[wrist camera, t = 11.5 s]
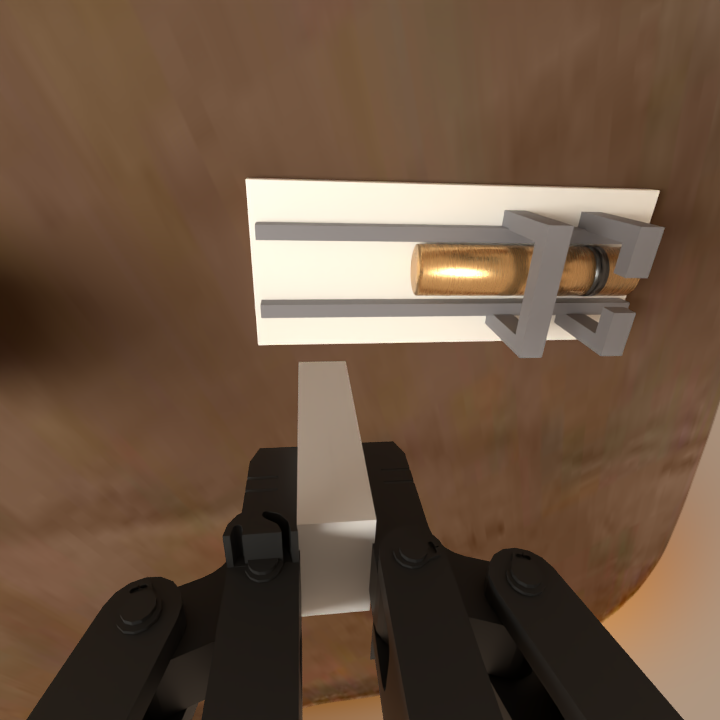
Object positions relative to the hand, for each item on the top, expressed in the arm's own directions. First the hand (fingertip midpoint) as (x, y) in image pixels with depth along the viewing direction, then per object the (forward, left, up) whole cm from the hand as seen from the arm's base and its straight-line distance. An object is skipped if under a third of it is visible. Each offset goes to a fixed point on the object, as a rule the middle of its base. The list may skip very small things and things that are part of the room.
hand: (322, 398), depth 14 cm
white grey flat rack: (+11, -1, -21) cm, 23 cm away
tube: (+15, -1, -19) cm, 25 cm away
